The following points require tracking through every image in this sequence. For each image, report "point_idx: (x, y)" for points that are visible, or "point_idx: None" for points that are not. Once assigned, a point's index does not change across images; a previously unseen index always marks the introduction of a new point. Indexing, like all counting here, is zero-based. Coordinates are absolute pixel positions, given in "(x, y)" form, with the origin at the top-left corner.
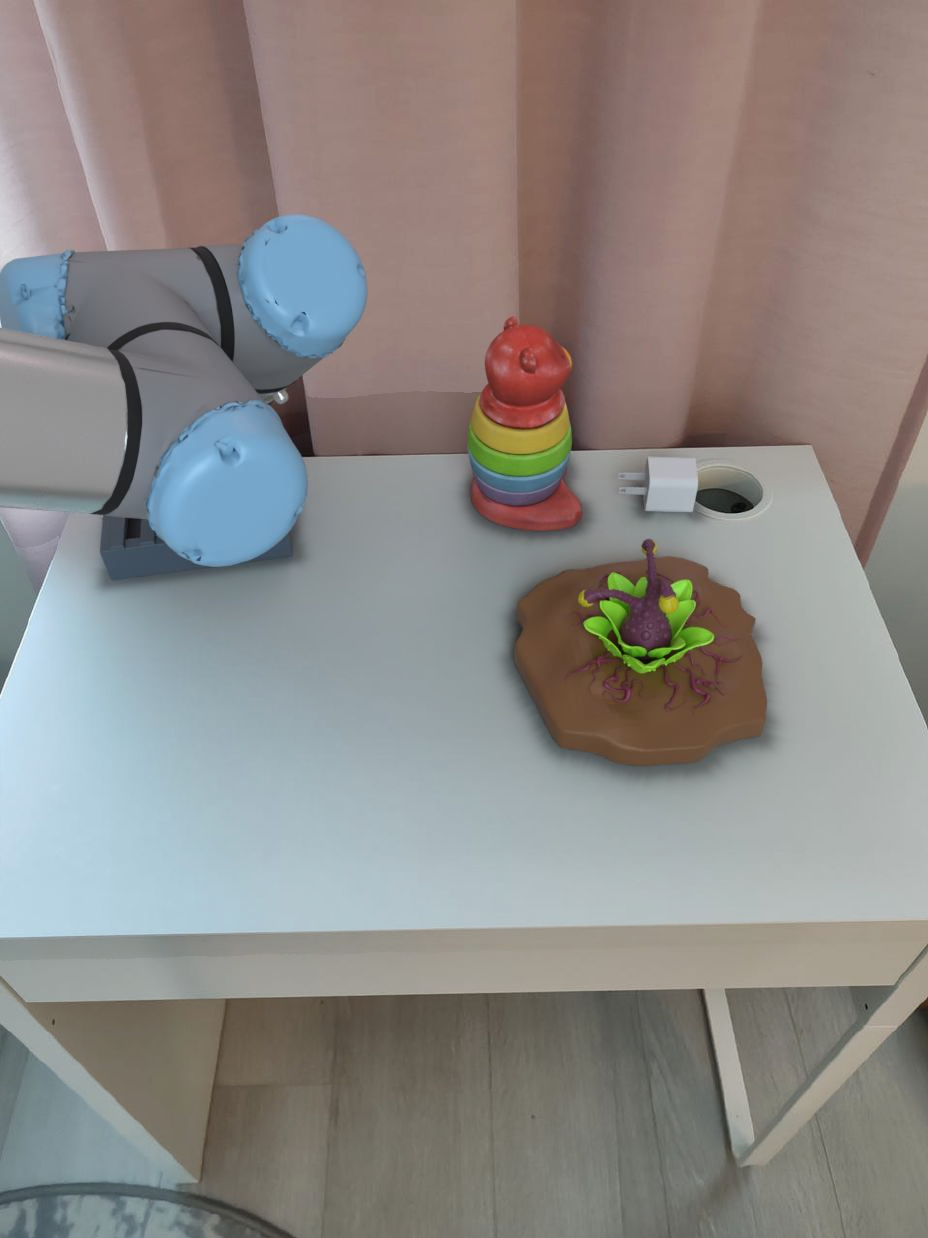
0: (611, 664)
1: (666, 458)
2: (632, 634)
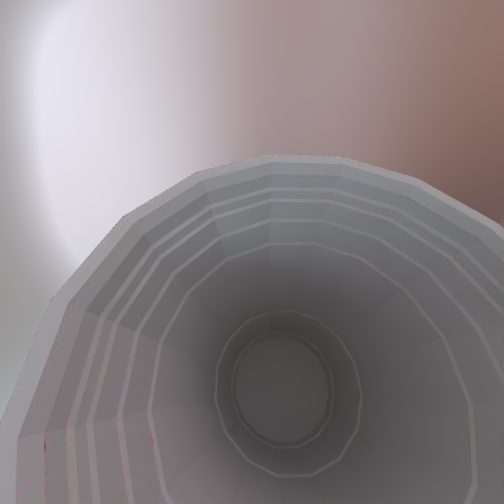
0: None
1: None
2: None
